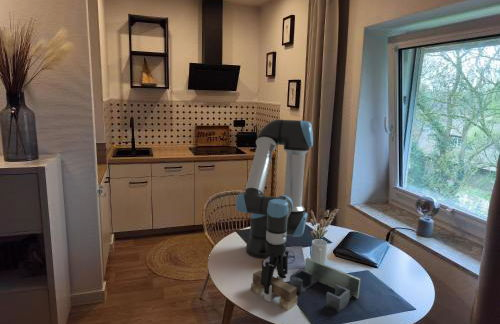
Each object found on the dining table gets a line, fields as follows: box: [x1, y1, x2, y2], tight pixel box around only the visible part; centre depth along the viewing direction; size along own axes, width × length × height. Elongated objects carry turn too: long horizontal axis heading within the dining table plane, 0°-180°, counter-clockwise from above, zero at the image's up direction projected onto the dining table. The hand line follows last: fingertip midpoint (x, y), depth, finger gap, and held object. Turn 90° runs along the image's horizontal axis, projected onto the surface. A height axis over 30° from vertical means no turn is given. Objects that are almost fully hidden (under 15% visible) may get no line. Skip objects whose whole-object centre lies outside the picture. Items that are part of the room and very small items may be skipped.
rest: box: [250, 282, 298, 311], centre depth 135 cm, size 18×6×3 cm, turn 48°
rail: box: [252, 269, 297, 302], centre depth 134 cm, size 18×4×4 cm, turn 48°
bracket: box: [289, 257, 361, 313], centre depth 138 cm, size 24×14×8 cm, turn 48°
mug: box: [310, 238, 328, 265], centre depth 156 cm, size 10×7×12 cm, turn 173°
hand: (273, 296), depth 135 cm, fingers open, 6 cm apart
